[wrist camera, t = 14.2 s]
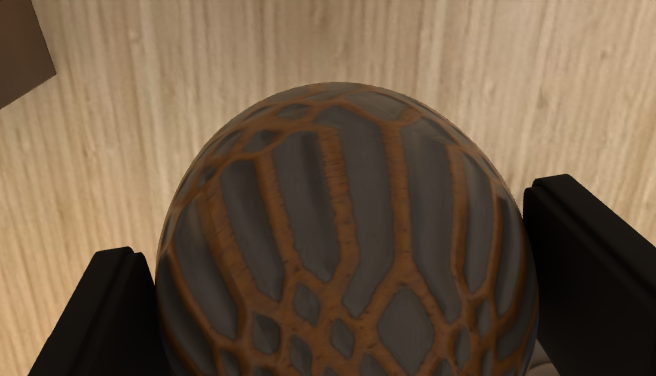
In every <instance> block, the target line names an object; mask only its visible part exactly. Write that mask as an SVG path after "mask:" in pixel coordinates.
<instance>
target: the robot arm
mask: <svg viewBox="0 0 656 376" xmlns="http://www.w3.org/2000/svg"><path fill="white" fill-rule="evenodd" d="M523 222H524V224H525V227H526V230H527V233H528V236H529V240H530V244H531V248H532V252H533V257H534V261H535V267H536V274H537V281H538V290H539V322H538V330H537V337H536V339H537V340H538V342H539V343H540V345H541V346H542V348H543V350H544V351H545V353H546V354H547V356H548V357H549V359H550V361H551V362H552V364H553V365H554V367H555V368H556V370H557V372H558V373H559V375H560V376H656V247H655V246H653V245H652V244H651V243H650V242H649V241H647V240H646V239H645V238H644V237H643V236H642V235H640V234H639V233H638V232H637V231H636V230H634V229H633V228H632V227H631V226H630V225H628V224H627V223H626V222H625V221H624V220H623V219H621V218H620V217H619V216H618V215H617V214H615V213H614V212H613V211H612V210H611V209H609V208H608V207H607V206H606V205H605V204H604V203H602V202H601V201H600V200H599V199H598V198H596V197H595V196H594V195H593V194H592V193H590V192H589V191H588V190H587V189H586V188H585V187H583V186H582V185H581V184H580V183H579V182H577V181H576V180H575V179H574V178H573V177H571V176H570V175H568V174H562V175H556V176H549V177H543V178H537V179H535V180H534V181H533V184H532V187H530V188H526V189H525V191H524V196H523ZM28 376H172V374H171V372H170V369H169V366H168V363H167V360H166V356H165V352H164V349H163V345H162V341H161V336H160V331H159V325H158V319H157V311H156V299H155V285H154V282H153V279H152V276H151V273H150V270H149V267H148V264H147V261H146V259H145V256H144V255H143V253H141V252H138V253H134V251H133V250H132V249H131V248H130V247H129V246H127V247H121V248H115V249H109V250H103V251H98V252H96V253H95V254H94V256H93V258H92V259H91V261H90V263H89V265H88V267H87V269H86V270H85V272H84V274H83V276H82V278H81V280H80V282H79V283H78V285H77V287H76V289H75V291H74V293H73V295H72V296H71V298H70V300H69V302H68V304H67V306H66V307H65V309H64V311H63V313H62V315H61V317H60V319H59V320H58V322H57V324H56V326H55V328H54V330H53V332H52V333H51V335H50V336H49V338H48V339H47V341H46V343H45V344H44V346H43V348H42V350H41V352H40V354H39V356H38V357H37V359H36V361H35V363H34V365H33V367H32V368H31V370H30V372H29V374H28Z"/></svg>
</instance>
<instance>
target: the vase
mask: <svg viewBox="0 0 656 376" xmlns="http://www.w3.org/2000/svg"><path fill="white" fill-rule="evenodd" d="M155 299H156V311H157V319H158V325H159V331H160V336H161V341H162V345H163V349H164V352H165V356H166V360H167V363H168V366H169V369H170V372H171V374H172V376H526V375H527V373H528V370H529V366H530V363H531V360H532V357H533V352H534V348H535V342H536V337H537V330H538V322H539V290H538V281H537V274H536V267H535V261H534V257H533V252H532V248H531V244H530V240H529V236H528V233H527V230H526V227H525V224H524V222H523V219H522V216H521V213H520V211H519V208H518V206H517V204H516V202H515V200H514V198H513V196H512V194H511V192H510V190H509V188H508V186H507V185H506V183H505V181H504V180H503V178H502V176H501V175H500V174H499V172H498V171H497V169H496V168H495V167H494V165H493V164H492V163H491V162H490V160H489V159H488V158H487V157H486V155H485V154H484V153H483V152H482V151H481V150H480V148H479V147H478V146H477V145H476V144H475V143H474V142H473V141H472V140H471V139H469V138H468V137H467V136H466V135H465V134H464V133H463V132H462V131H461V130H460V129H459V128H458V127H456V126H455V125H454V124H453V123H451V122H450V121H449V120H448V119H446V118H445V117H443V116H442V115H440V114H439V113H438V112H436V111H435V110H433V109H431V108H430V107H428V106H427V105H425V104H423V103H421V102H419V101H417V100H415V99H413V98H411V97H408V96H406V95H404V94H401V93H398V92H395V91H392V90H388V89H384V88H380V87H376V86H372V85H366V84H360V83H348V82H329V83H318V84H311V85H305V86H301V87H296V88H292V89H289V90H286V91H283V92H280V93H277V94H275V95H272V96H270V97H268V98H266V99H264V100H262V101H260V102H258V103H256V104H254V105H252V106H251V107H249V108H247V109H246V110H244V111H243V112H241V113H240V114H239V115H237V116H236V117H234V118H233V119H232V120H231V121H229V122H228V123H227V124H226V125H224V126H223V127H222V128H221V129H220V130H219V131H218V132H217V133H215V134H214V135H213V137H212V138H211V139H210V140H209V141H208V142H207V143H206V144H205V145H204V147H203V148H202V149H201V151H200V152H199V153H198V155H197V156H196V157H195V159H194V160H193V162H192V163H191V165H190V167H189V168H188V170H187V172H186V173H185V175H184V177H183V178H182V180H181V182H180V184H179V186H178V188H177V190H176V192H175V195H174V197H173V199H172V202H171V204H170V207H169V209H168V212H167V215H166V218H165V221H164V225H163V229H162V232H161V236H160V240H159V244H158V250H157V258H156V272H155Z"/></svg>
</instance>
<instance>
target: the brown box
mask: <svg viewBox="0 0 656 376" xmlns="http://www.w3.org/2000/svg"><path fill="white" fill-rule="evenodd" d="M55 75H56V72H55V69H54V66H53V64H52V61H51V58H50V55H49V52H48V49H47V46H46V44H45V41H44V38H43V35H42V32H41V29H40V27H39V24H38V21H37V18H36V15H35V12H34V10H33V7H32V4H31V1H30V0H0V109H2V108H3V107H5V106H7V105H8V104H10V103H11V102H13V101H15V100H16V99H18V98H19V97H21V96H23V95H24V94H26V93H27V92H29V91H31V90H32V89H34V88H35V87H37V86H39V85H40V84H42V83H43V82H45V81H47V80H48V79H50V78H51V77H53V76H55Z"/></svg>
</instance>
